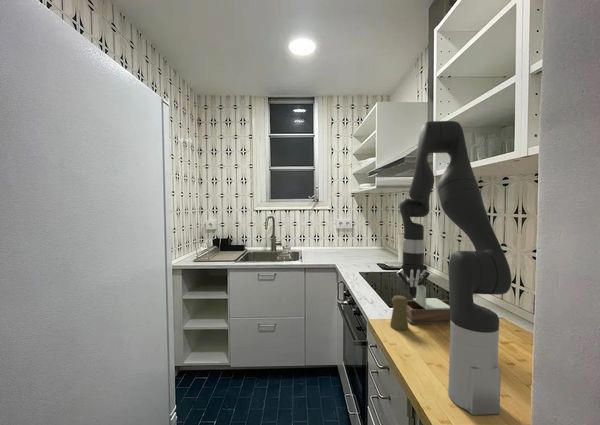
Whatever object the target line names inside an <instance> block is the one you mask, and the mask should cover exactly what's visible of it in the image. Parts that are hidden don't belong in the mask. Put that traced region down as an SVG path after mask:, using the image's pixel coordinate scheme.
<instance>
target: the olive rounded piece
mask: <svg viewBox="0 0 600 425" xmlns="http://www.w3.org/2000/svg"><path fill="white" fill-rule="evenodd" d="M407 300H408V299H407V297H405V296H404V295H397V294H396V295H393V297H392V298H391V302H392V305H393V306H392V312H391V318H390V325H389V326H390V328H391V329H393V330H395V331H400V332H405V331H408V330H409V323H408V322H407V313H406V306H407V303H408V301H407Z"/></svg>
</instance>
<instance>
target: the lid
mask: <svg viewBox="0 0 600 425" xmlns="http://www.w3.org/2000/svg"><path fill="white" fill-rule="evenodd" d="M412 300H414V301H415V302H417V303H418V304H419V305H421V306H422V307H423V308H425V309H426V310H429V309H450V306H449V305H447V304H445V303H444V302H442V301H441V300H442V299H438V298H435V297H431V298H429V297H427V286H425V285H424V284H422V285H419V286H417V294H416V295H415V298H414V297H413V298H412Z"/></svg>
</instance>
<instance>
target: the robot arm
mask: <svg viewBox="0 0 600 425" xmlns="http://www.w3.org/2000/svg"><path fill="white" fill-rule="evenodd" d="M429 154H448V156H449V159H450V160H449V163H448V164H447V165H448V166H447V167H446V168H445V170H444V172H443V173H442V174H441V177H440V179H439V181H438V184H437V193H438V198H439V201H440V206H441V209H442V211H443V212H444V214H445V215H446V216H447V218H449V219H450V220H451V221H452V222H453V223H454V224H455V225H456V226H457V227H458V228H459V229H460V230H462V232H463V233H465V235H466V236H467V237H468V239H469V241H470V242H471V243H472V245H473V248H474V250H456V251H454V252H453V253H452V254H451V255H450V257H449V263H448V294H449V295H448V298H449V299H448V300H449V305H450V324H449V325H450V326H449V348H448V349H449V351H448V352H449V354H448V355H449V356H448V390H447V391H448V392H447V394H448V397H449V398H450V399H451V401H452V402H453V403H454V404H455V405H457V406H458V407H460V408H461V409H464V410H465V411H467V412H468V413H469V414H470V415H472V416H474V415H477V416H478V415H481V416H482V415H483V416H484V415H500V411H501V387H502V386H501V383H502V381H501V380H502V370H501V368H499V367H498V366H499V340H500V318H499V315H498V314H497V312H495V311H493V310H491V309H490V308H487V307H485V306H481V305H480V304H477V303H475V302H474V295H500V296H501V295H505V294H507V293H508V292H509V291H510V290H511V287H512V273H511V269H510V265H509V261H508V259H507V257H506V255H505V253H504V251H503V248H502V246H501V244H500V241H499V240H498V238H497V235H496V233H495V230H494V229H493V226H492V224H491V222H490V219H489V216H488V213H487V210H486V207H485V204H484V201H483V197H482V192H481V190H480V187H479V184H478V182H477V179H476V177H475V176H476V175H475V173H474V171H473V168H472V164H471V162H470V158H469V152H468V148H467V142H466V138H465V134H464V130H463V127H462V125H461V123H460V122H458V121H455V120H437V121H436V120H431V121H426V122H425V123H423V125H422V126H421V130H420V132H419V136H418V143H417V148H416V155H415V156H416V157H415V163H414V164H415V165H414V172H413V176H412V181H411V184H410V188H409V190H408V195H409V198H403V199H402V200H401V201H400V203H399V212H400V215H401V218H402V223H403V241H402V265H401V269H400V270H396V271H395V275H397V277H398V278H399V279H400V281H401V282H402V283H403V284H404V285H405V286H407V295H408V296H410V297H413V298H414V297H415V298H416V294H417V286H419V285H424V283H425V281H427V279H428V278H429V277H430V275H431V273H430V272H429V271H427V270H426V269H425V266H424V263H425V262H424V261H425V259H424V258H425V242H424V236H425V234H424V231H425V229H424V225H423V224H421V223H417V222H413V221H412V219H411V218H425V217H427V215H428V214H429V213H430V196H431V193H432V190H433V189H434V186H435V174H434V173H433V170H432V168H431V166H430V164H429V160H428V159H429V158H428V157H429ZM404 275H405V276H406V278H405V276H404Z"/></svg>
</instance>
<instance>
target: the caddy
mask: <svg viewBox="0 0 600 425" xmlns="http://www.w3.org/2000/svg"><path fill="white" fill-rule="evenodd" d="M440 300H441V301H442V302H444V303H445V304H447V305H449V299H440ZM407 301H408V303H407V306H406V313H407V322H408V325H410V326H411V325H413V326H415V325H450V309H429V310H426V309H425V308H423V307H422V306H421V305H419V304H418V303H417V302H415V301H414V300H413V299H412V300H411V299H410V300H408V299H407ZM449 306H450V305H449Z"/></svg>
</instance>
